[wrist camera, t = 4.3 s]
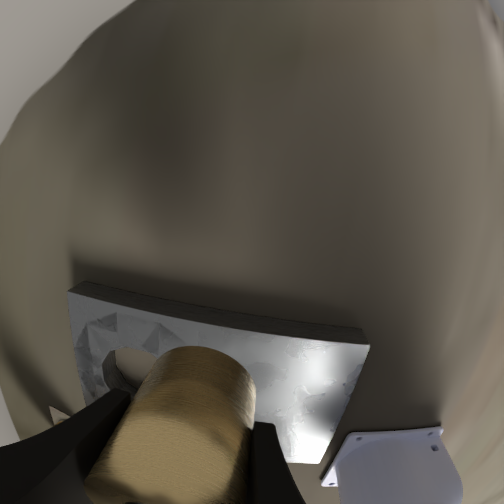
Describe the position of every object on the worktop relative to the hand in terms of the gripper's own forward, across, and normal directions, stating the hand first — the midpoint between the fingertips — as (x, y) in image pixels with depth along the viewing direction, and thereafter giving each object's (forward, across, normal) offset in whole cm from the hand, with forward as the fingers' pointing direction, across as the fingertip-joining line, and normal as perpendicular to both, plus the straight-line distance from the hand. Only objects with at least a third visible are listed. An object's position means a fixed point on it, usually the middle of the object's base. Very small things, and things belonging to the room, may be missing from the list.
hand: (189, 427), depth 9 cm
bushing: (+2, 0, 0) cm, 2 cm away
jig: (+9, +1, +5) cm, 10 cm away
